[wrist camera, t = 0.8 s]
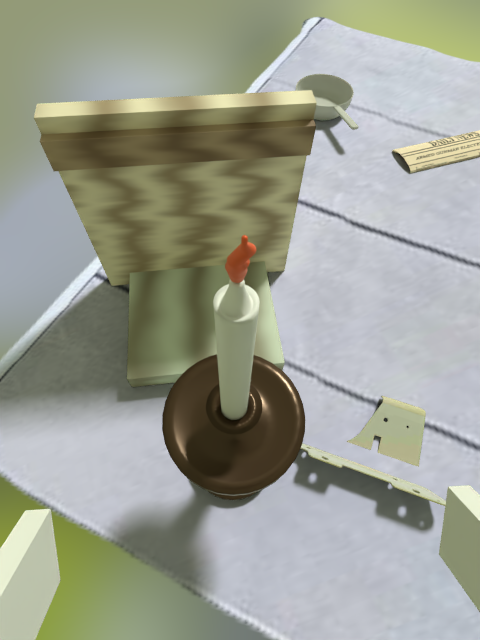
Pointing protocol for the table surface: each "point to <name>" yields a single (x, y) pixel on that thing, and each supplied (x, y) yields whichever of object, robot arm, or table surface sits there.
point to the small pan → (329, 96)
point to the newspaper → (441, 151)
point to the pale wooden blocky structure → (183, 207)
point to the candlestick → (234, 402)
